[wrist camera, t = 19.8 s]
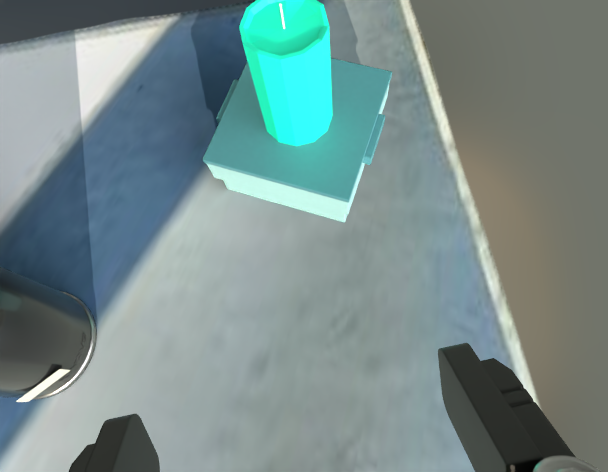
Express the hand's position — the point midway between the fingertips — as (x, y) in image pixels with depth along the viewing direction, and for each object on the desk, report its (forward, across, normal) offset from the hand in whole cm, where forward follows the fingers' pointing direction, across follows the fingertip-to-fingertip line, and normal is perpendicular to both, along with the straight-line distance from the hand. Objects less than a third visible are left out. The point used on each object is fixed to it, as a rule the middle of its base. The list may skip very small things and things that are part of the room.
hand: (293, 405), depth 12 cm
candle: (+32, -3, -2) cm, 32 cm away
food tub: (+36, -3, +3) cm, 37 cm away
